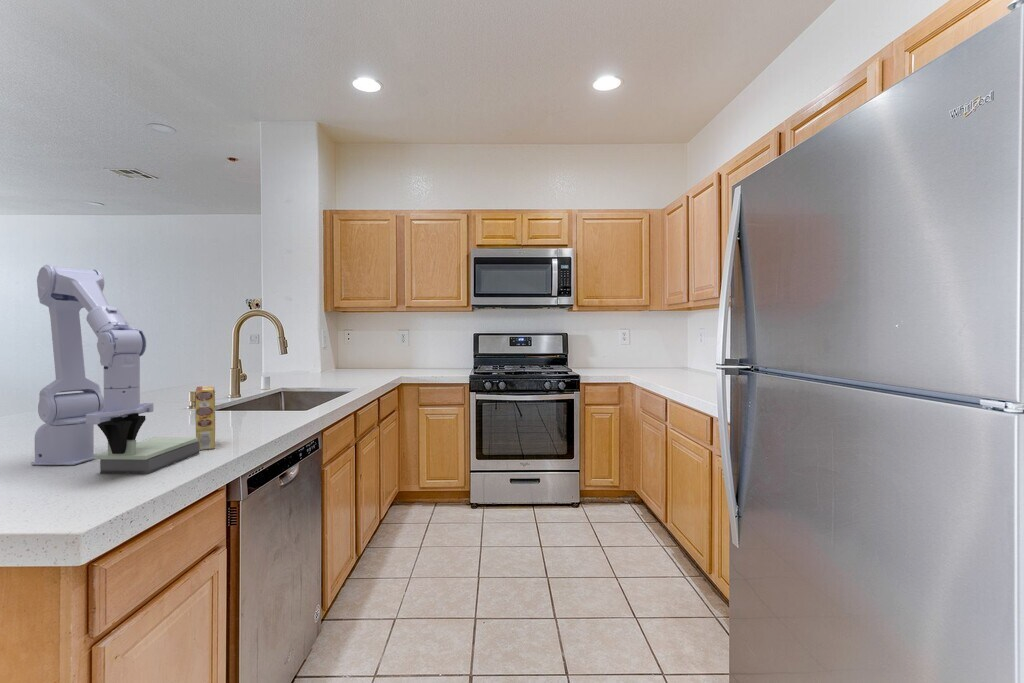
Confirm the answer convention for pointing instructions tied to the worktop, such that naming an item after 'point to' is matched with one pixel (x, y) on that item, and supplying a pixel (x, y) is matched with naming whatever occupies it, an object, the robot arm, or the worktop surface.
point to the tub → (149, 461)
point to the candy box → (205, 417)
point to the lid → (147, 448)
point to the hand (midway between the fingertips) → (122, 452)
